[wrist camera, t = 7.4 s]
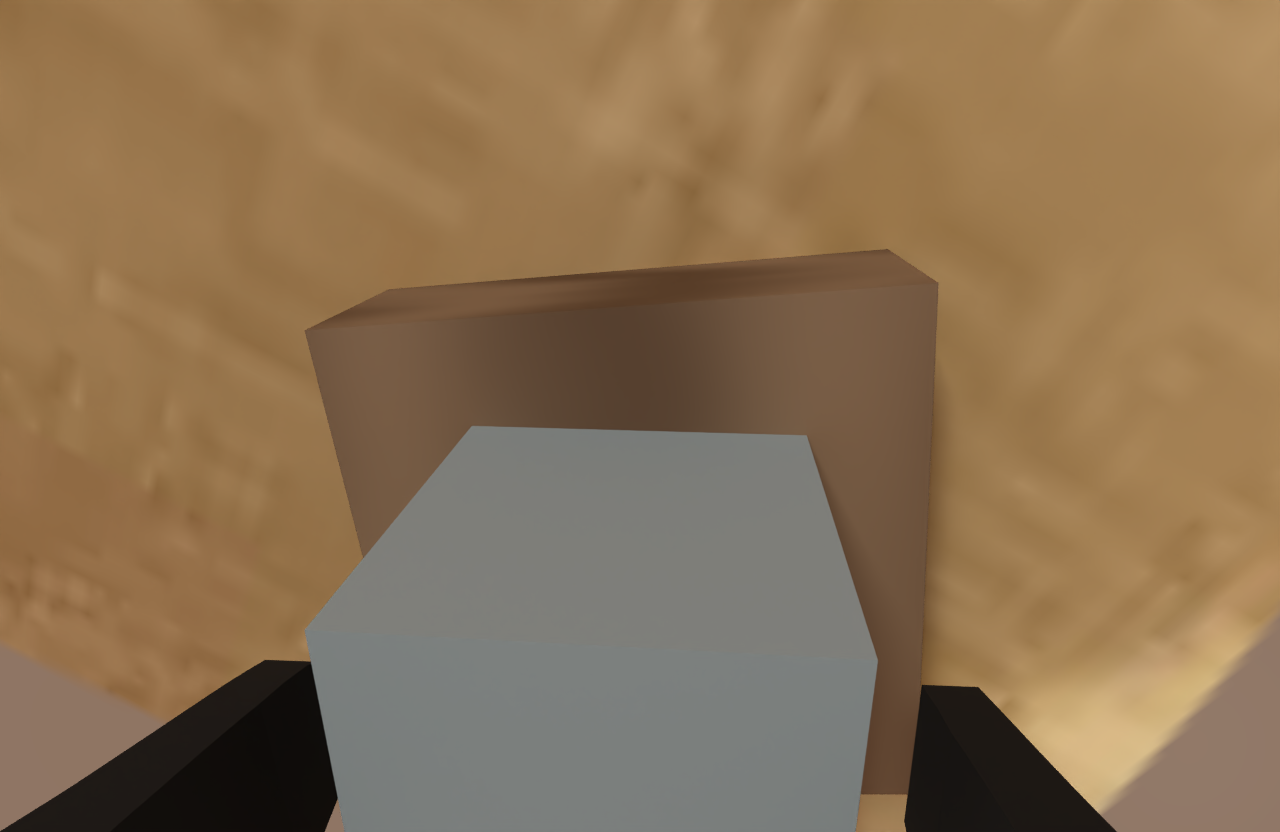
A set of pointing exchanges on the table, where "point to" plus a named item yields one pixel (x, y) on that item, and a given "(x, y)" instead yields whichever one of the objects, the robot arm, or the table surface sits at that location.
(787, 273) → the walnut block
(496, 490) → the grey cube
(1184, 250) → the table surface
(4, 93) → the table surface
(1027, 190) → the table surface
